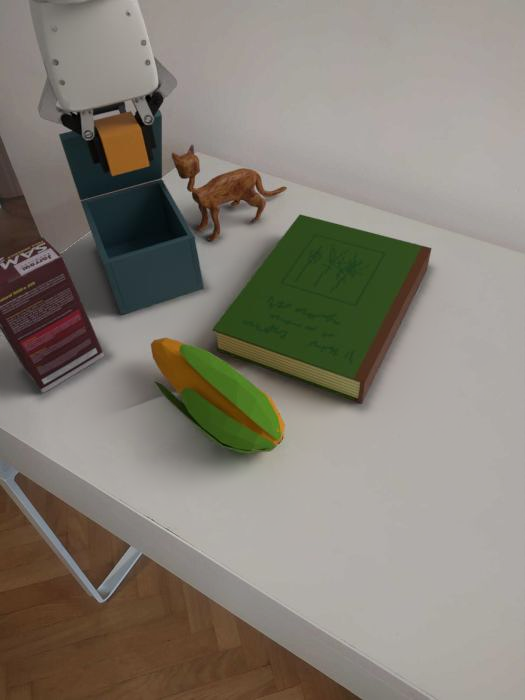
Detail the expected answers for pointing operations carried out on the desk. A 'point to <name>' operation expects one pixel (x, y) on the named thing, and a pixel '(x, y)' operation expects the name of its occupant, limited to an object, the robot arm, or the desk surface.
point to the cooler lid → (91, 175)
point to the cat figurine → (222, 189)
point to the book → (325, 305)
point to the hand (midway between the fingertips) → (125, 159)
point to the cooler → (144, 245)
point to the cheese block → (122, 143)
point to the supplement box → (45, 315)
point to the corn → (218, 398)
